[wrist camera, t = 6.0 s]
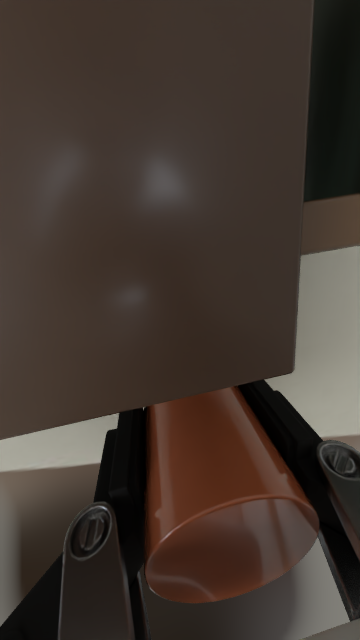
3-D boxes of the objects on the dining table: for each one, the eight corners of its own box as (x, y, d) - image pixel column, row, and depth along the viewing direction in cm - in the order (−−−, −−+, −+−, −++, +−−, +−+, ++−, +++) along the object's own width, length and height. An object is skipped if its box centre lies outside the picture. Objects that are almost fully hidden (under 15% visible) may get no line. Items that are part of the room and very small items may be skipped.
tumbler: (182, 343, 9) (229, 473, 4) (254, 386, 11) (354, 520, 6) (124, 417, 10) (105, 597, 5) (198, 447, 12) (241, 609, 7)
